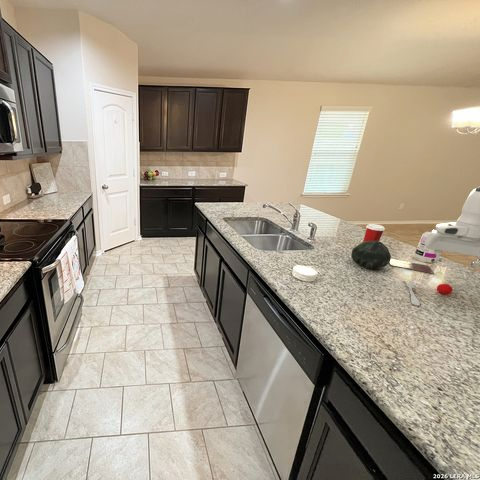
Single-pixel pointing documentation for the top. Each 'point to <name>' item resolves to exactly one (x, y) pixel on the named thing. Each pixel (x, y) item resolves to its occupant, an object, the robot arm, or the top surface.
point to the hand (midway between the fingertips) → (455, 263)
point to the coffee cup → (373, 232)
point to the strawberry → (444, 289)
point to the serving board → (410, 266)
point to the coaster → (304, 273)
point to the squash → (371, 254)
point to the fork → (412, 294)
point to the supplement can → (424, 251)
